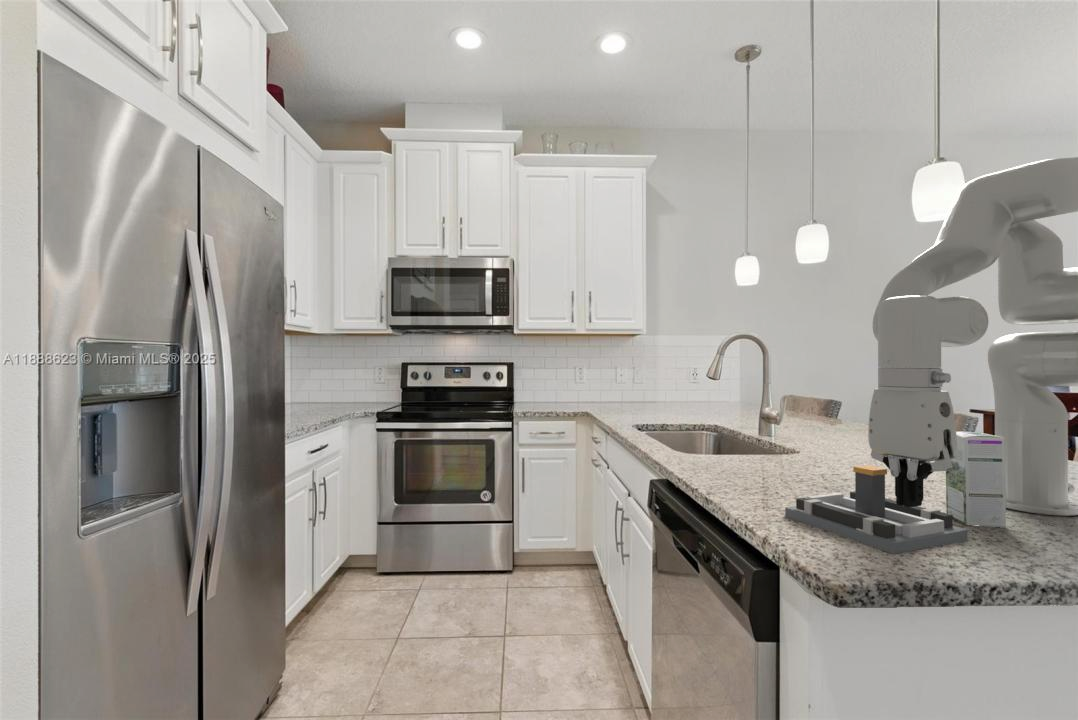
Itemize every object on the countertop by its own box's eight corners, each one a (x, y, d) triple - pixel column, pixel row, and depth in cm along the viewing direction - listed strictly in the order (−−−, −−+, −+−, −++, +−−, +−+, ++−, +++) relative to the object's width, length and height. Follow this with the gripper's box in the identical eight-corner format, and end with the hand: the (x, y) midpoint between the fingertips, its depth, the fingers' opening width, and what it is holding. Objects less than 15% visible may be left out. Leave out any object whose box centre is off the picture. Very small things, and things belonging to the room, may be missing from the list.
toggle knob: (867, 512, 81) (867, 465, 81) (887, 517, 78) (887, 469, 78) (853, 514, 80) (853, 466, 80) (872, 519, 77) (872, 470, 77)
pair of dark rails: (858, 501, 89) (858, 489, 89) (954, 526, 75) (954, 513, 75) (794, 509, 84) (794, 497, 84) (884, 539, 70) (884, 524, 70)
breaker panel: (852, 507, 91) (852, 489, 91) (967, 539, 74) (967, 518, 74) (785, 516, 85) (785, 498, 85) (893, 554, 68) (893, 531, 68)
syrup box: (1008, 528, 79) (1007, 436, 79) (964, 526, 80) (964, 435, 80) (983, 517, 85) (983, 431, 85) (943, 515, 86) (943, 430, 86)
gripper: (984, 382, 68) (985, 516, 68) (876, 378, 82) (876, 490, 82) (949, 382, 66) (950, 523, 66) (843, 379, 80) (843, 495, 79)
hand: (909, 504), depth 74 cm, fingers closed
